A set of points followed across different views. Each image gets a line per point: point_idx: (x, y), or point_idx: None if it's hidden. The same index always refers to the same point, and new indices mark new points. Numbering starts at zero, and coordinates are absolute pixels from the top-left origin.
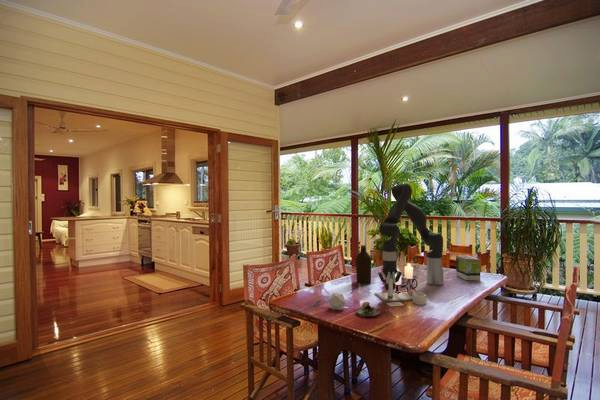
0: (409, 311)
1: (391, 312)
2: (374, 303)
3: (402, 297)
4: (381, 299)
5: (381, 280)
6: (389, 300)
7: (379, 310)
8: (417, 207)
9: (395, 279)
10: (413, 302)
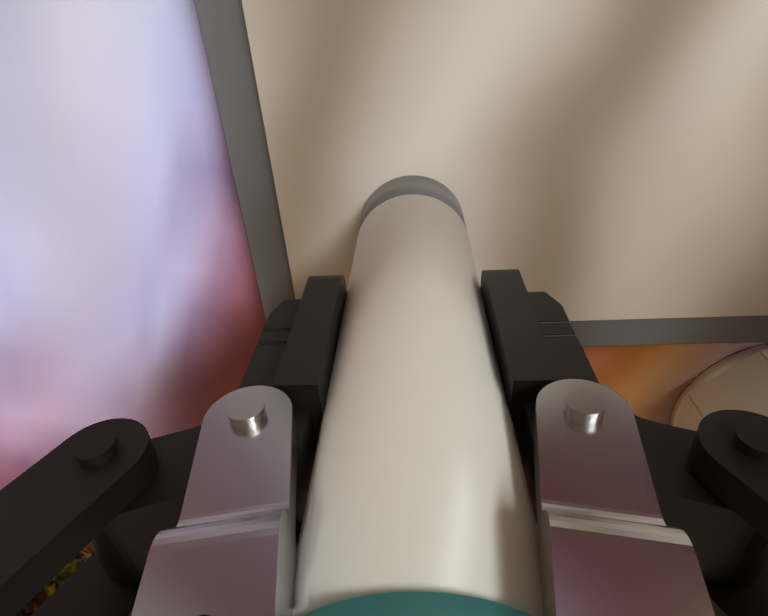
0: None
1: None
2: (115, 346)
3: (653, 234)
4: (247, 214)
5: (51, 494)
6: None
7: None
8: None
9: (706, 527)
10: (679, 400)
